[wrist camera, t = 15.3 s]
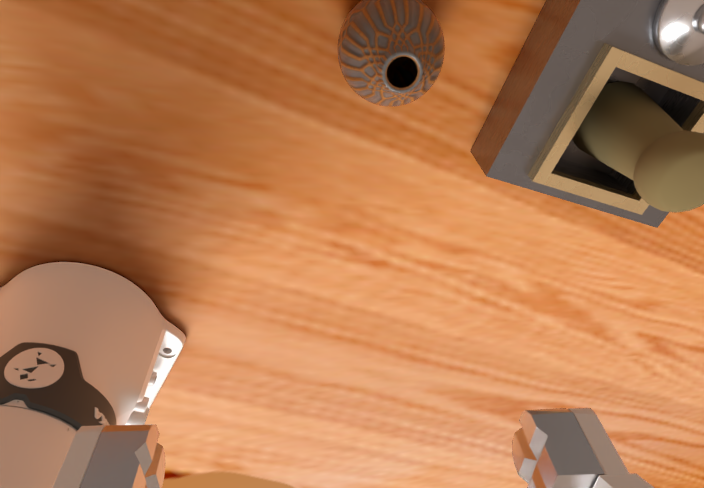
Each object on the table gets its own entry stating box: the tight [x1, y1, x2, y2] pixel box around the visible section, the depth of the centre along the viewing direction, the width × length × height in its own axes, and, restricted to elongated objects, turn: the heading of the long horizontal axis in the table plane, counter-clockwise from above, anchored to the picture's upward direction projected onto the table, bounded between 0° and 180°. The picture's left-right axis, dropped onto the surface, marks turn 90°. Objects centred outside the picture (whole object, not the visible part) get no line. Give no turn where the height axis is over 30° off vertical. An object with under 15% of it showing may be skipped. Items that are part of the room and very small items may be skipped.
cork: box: [573, 81, 704, 212], centre depth 36 cm, size 6×6×11 cm
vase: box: [338, 0, 445, 106], centre depth 33 cm, size 7×7×9 cm
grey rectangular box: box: [471, 0, 704, 227], centre depth 37 cm, size 18×16×6 cm
